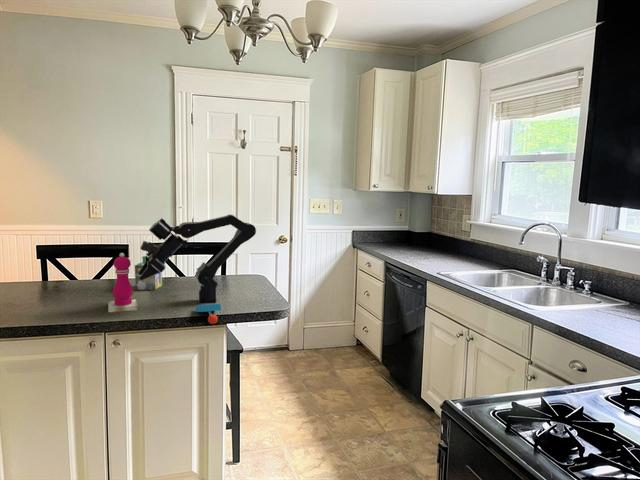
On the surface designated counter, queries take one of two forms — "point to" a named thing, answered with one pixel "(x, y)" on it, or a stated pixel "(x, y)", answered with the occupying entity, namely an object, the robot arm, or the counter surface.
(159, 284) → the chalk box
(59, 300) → the counter surface
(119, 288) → the pepper mill
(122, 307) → the plinth
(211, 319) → the lever
